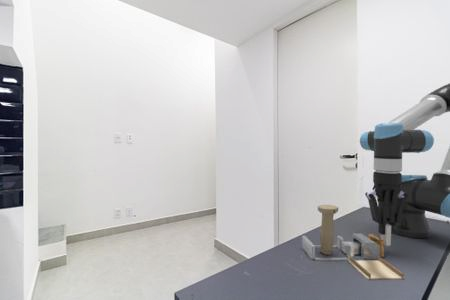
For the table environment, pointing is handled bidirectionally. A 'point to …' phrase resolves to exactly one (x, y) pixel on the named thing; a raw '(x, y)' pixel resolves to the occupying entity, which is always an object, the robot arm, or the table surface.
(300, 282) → the table surface
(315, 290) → the table surface
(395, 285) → the table surface
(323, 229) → the handle
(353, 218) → the table surface
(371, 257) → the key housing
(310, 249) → the silver rectangular frame
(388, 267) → the tan base plate
